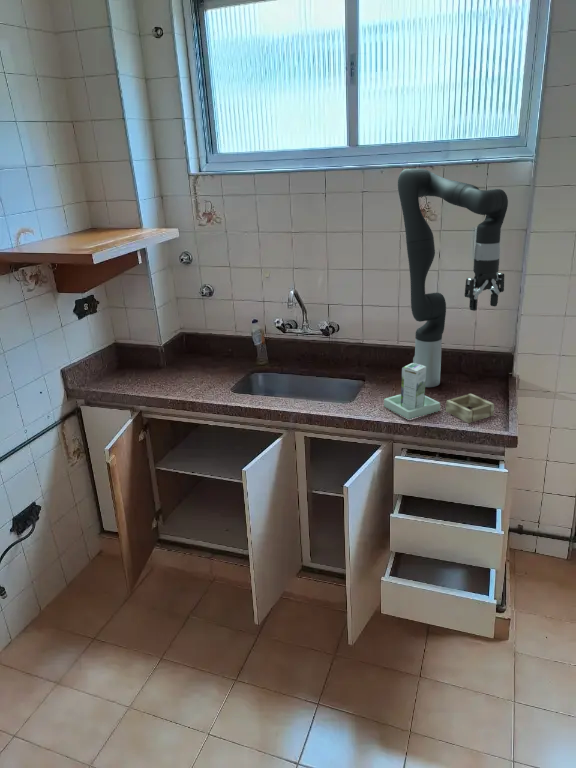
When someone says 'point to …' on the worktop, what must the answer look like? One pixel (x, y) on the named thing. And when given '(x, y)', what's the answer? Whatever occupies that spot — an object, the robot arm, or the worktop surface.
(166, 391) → the worktop surface
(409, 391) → the syrup box
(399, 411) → the tray
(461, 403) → the collar
